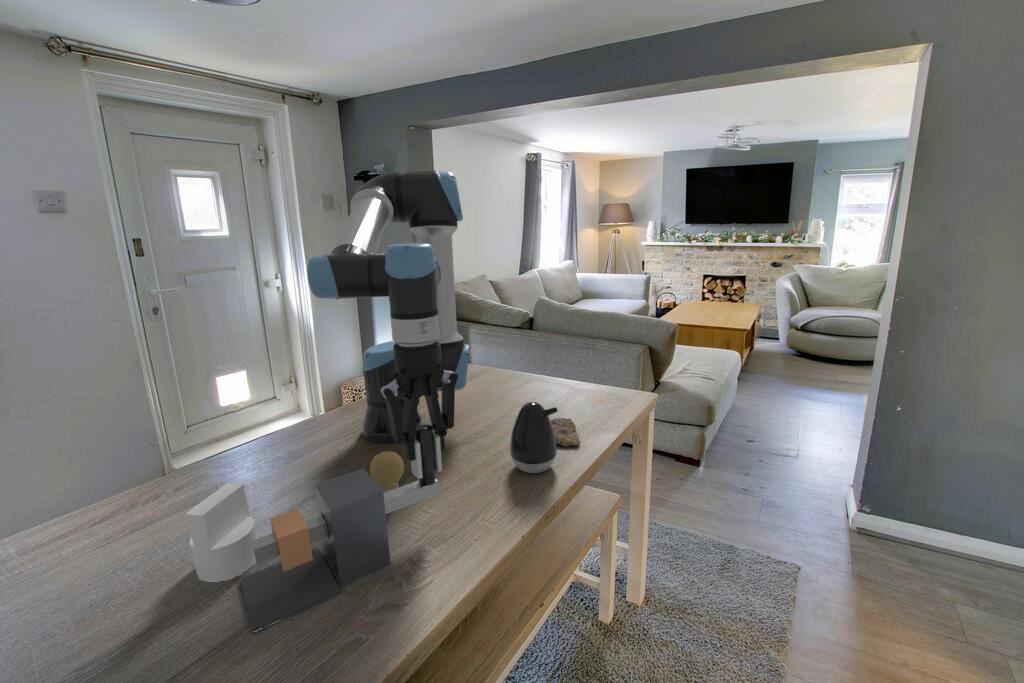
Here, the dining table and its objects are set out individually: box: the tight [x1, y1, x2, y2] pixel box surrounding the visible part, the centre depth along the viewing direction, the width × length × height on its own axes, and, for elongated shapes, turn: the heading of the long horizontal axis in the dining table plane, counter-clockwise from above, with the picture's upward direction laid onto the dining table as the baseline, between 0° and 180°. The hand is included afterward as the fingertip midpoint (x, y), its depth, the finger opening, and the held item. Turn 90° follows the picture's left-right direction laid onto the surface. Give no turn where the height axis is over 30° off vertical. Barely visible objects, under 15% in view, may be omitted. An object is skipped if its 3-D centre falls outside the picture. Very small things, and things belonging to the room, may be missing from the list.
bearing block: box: [313, 468, 392, 587], centre depth 77 cm, size 9×8×13 cm
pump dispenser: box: [509, 401, 558, 474], centre depth 103 cm, size 10×10×15 cm
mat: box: [240, 547, 341, 633], centre depth 73 cm, size 12×12×1 cm
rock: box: [550, 417, 581, 447], centre depth 118 cm, size 9×6×10 cm
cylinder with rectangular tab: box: [185, 482, 259, 581], centre depth 77 cm, size 9×9×12 cm
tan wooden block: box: [269, 508, 313, 571], centre depth 71 cm, size 6×4×6 cm, turn 36°
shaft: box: [251, 424, 441, 565], centre depth 75 cm, size 3×29×12 cm, turn 126°
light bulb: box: [369, 450, 405, 493], centre depth 94 cm, size 6×6×10 cm
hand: (427, 471), depth 83 cm, fingers closed on shaft, 3 cm apart
